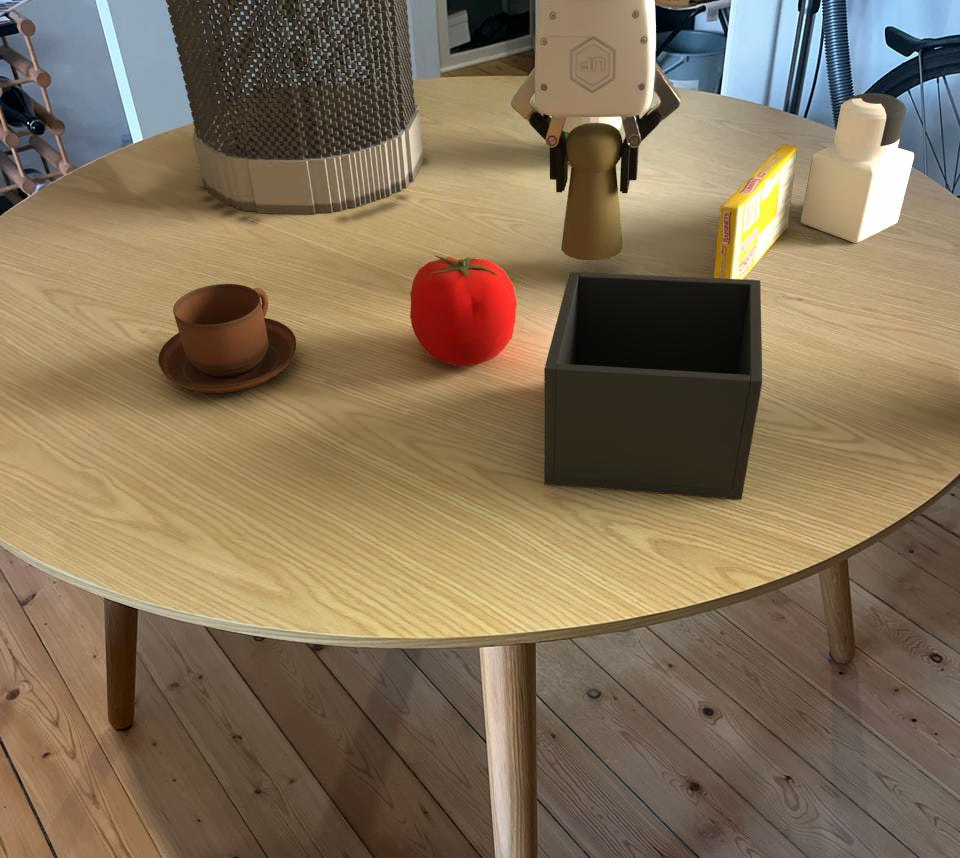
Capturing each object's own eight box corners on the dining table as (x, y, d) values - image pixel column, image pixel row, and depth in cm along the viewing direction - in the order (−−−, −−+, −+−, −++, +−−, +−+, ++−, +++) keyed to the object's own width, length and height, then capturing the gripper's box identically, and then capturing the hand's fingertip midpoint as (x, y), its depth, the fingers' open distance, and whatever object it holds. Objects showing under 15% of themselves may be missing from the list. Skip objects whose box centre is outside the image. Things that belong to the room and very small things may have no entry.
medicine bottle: (841, 203, 110) (866, 82, 101) (898, 223, 106) (930, 98, 97) (798, 223, 107) (821, 100, 98) (856, 245, 103) (884, 118, 94)
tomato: (472, 394, 86) (467, 300, 80) (386, 356, 91) (375, 265, 85) (541, 348, 91) (541, 257, 85) (455, 315, 96) (450, 227, 90)
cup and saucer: (192, 332, 96) (175, 268, 91) (315, 337, 94) (304, 273, 89) (142, 401, 87) (121, 336, 83) (276, 409, 86) (262, 342, 81)
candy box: (768, 225, 107) (781, 142, 101) (787, 229, 106) (802, 145, 100) (708, 291, 97) (719, 203, 91) (730, 295, 96) (742, 207, 90)
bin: (742, 392, 85) (760, 279, 78) (741, 499, 75) (762, 381, 68) (567, 381, 87) (569, 271, 80) (543, 484, 77) (544, 368, 70)
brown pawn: (633, 239, 100) (639, 119, 92) (606, 265, 96) (610, 142, 88) (578, 229, 102) (579, 111, 94) (550, 254, 99) (548, 133, 91)
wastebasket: (436, 131, 129) (416, -167, 108) (397, 215, 112) (364, -121, 91) (244, 130, 133) (189, -161, 111) (177, 211, 115) (96, -115, 94)
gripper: (485, -28, 81) (496, 202, 94) (704, -33, 78) (684, 205, 91) (501, -50, 86) (509, 171, 99) (706, -56, 84) (687, 172, 96)
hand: (593, 185), depth 95 cm, fingers closed on brown pawn, 5 cm apart
